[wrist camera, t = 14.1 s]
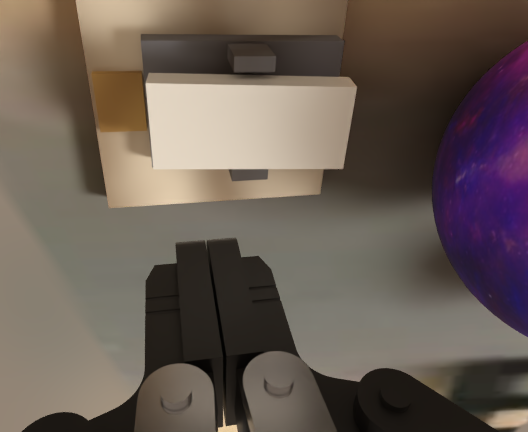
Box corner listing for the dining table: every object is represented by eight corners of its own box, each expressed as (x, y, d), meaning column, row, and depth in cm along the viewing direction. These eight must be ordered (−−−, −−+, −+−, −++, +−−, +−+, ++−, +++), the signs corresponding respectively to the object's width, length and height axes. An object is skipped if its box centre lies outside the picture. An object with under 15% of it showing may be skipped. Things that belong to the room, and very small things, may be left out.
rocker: (349, 76, 19) (357, 87, 18) (336, 155, 21) (342, 169, 20) (148, 72, 18) (145, 82, 17) (155, 155, 20) (153, 169, 19)
